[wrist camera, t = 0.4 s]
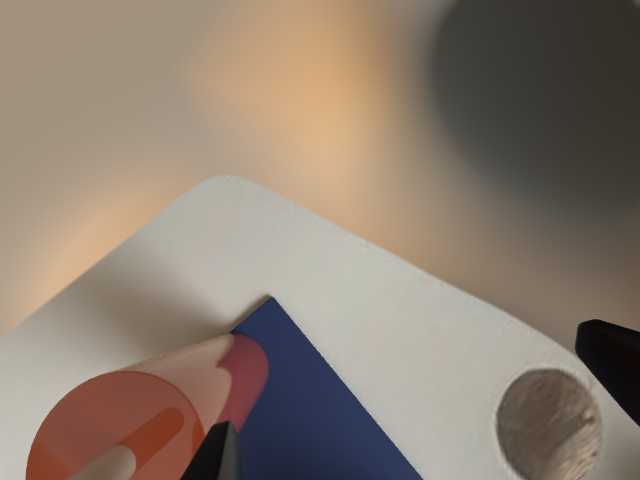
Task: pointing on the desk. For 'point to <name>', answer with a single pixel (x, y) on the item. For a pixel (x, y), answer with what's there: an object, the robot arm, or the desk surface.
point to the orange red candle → (150, 413)
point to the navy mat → (309, 415)
